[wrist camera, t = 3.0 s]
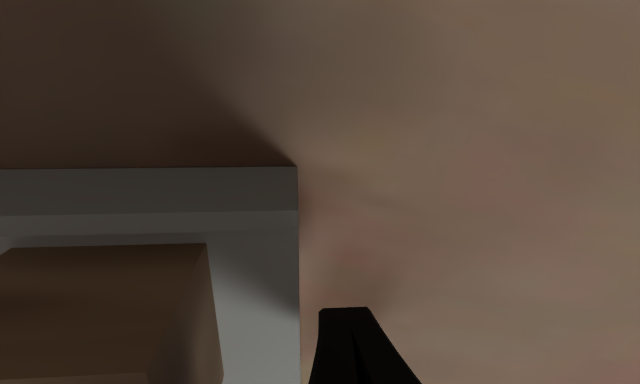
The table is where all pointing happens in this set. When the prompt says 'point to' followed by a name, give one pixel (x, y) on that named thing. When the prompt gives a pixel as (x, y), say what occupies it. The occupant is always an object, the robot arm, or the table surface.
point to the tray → (184, 227)
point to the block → (108, 315)
